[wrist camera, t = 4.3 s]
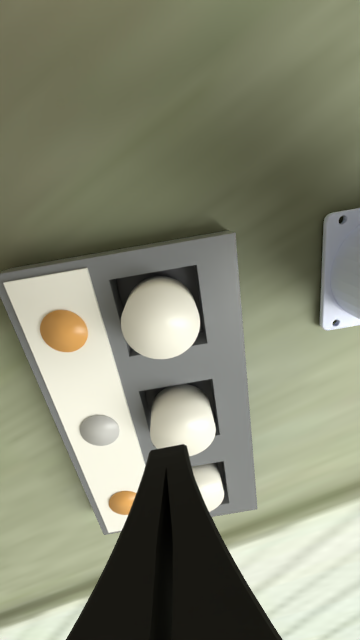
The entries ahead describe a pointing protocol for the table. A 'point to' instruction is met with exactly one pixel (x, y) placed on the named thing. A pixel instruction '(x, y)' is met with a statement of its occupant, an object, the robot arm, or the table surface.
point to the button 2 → (182, 419)
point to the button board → (134, 363)
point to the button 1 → (160, 318)
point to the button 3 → (209, 484)
